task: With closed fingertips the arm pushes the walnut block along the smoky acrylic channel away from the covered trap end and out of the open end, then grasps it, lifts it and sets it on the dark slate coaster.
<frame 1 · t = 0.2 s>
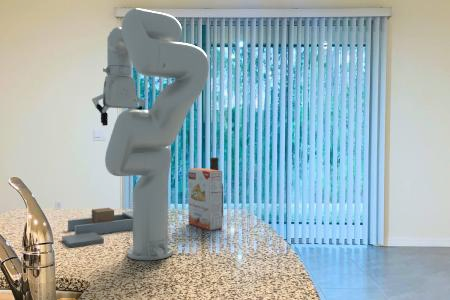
hand: (119, 125, 127), 36 cm above the countertop, tool pointing down, fingers open, 9 cm apart
block: (103, 229, 136), resting in channel
channel: (108, 228, 137), on the countertop
coaster: (82, 241, 120), on the countertop
cracker box: (204, 227, 141), on the countertop
beer bottle: (214, 215, 161), on the countertop
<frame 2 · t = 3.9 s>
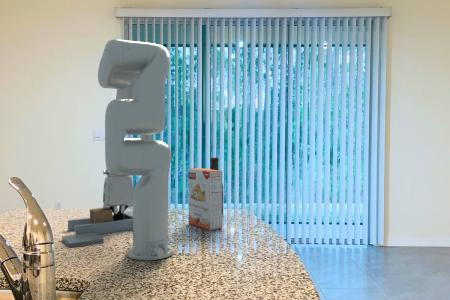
hand: (118, 223, 139), 1 cm above the countertop, tool pointing down, fingers closed
block: (101, 229, 136), resting in channel, touching gripper
everything else where it was.
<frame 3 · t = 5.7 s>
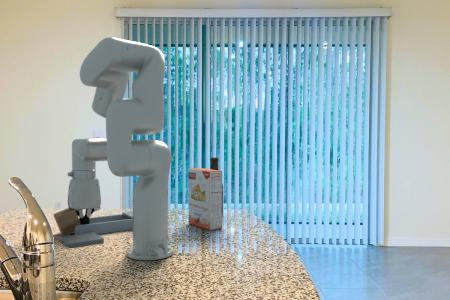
hand: (84, 228, 132), 1 cm above the countertop, tool pointing down, fingers closed
block: (71, 230, 130), point 1 cm above the countertop, tilted 19°, touching gripper
everything else where it was.
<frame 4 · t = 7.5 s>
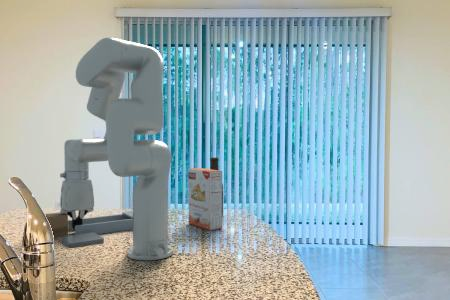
hand: (77, 230, 131), 1 cm above the countertop, tool pointing down, fingers closed
block: (56, 235, 127), on the countertop
everything else where it was.
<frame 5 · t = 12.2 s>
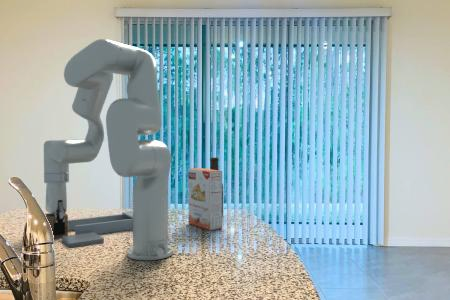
hand: (57, 231, 127), 1 cm above the countertop, tool pointing down, fingers closed on block, 6 cm apart
block: (56, 235, 127), on the countertop, touching gripper
everything else where it was.
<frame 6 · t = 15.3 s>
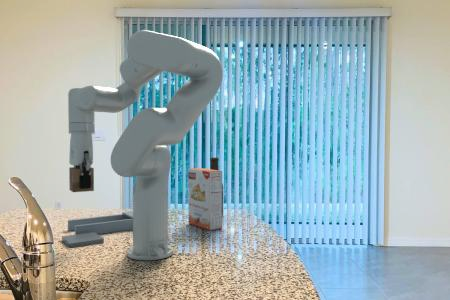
hand: (82, 186, 120), 17 cm above the countertop, tool pointing down, fingers closed on block, 6 cm apart
block: (81, 190, 120), point 16 cm above the countertop, touching gripper
everything else where it was.
when the fingers open (3 cm above the countertop, at t = 18.2 s): block stays where it is, resting on coaster.
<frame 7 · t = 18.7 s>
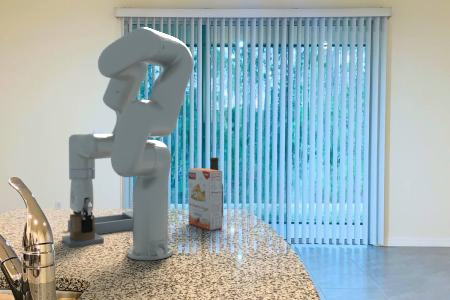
hand: (82, 229, 120), 4 cm above the countertop, tool pointing down, fingers open, 9 cm apart
block: (82, 237, 120), point 1 cm above the countertop, touching coaster
everything else where it was.
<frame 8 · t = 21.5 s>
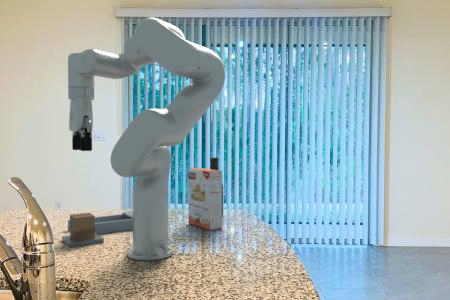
hand: (81, 150, 119), 28 cm above the countertop, tool pointing down, fingers open, 9 cm apart
nothing on the countertop moved.
at the end: block inside the target area on the coaster (0.2 cm from its centre), point 1.2 cm above the coaster's base; block tilted 0°; the gripper is holding nothing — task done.
